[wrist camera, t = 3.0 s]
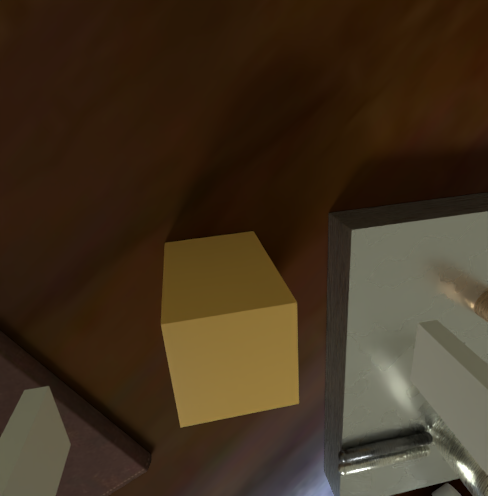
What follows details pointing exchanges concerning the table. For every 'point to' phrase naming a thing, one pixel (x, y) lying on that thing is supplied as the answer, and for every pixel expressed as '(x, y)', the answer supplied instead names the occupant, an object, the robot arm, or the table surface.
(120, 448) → the notebook
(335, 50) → the table surface
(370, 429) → the grey plate
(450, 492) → the cable organizer
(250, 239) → the tan rectangular block
